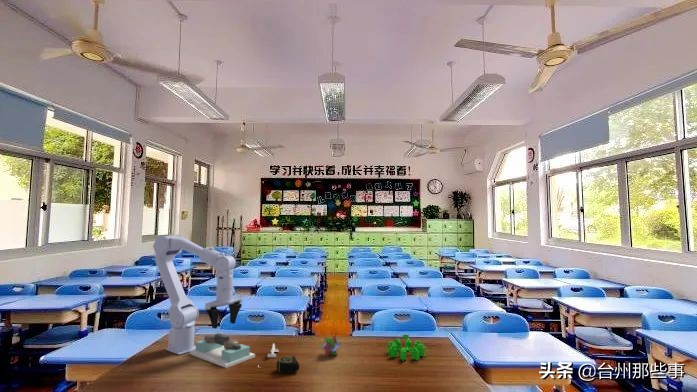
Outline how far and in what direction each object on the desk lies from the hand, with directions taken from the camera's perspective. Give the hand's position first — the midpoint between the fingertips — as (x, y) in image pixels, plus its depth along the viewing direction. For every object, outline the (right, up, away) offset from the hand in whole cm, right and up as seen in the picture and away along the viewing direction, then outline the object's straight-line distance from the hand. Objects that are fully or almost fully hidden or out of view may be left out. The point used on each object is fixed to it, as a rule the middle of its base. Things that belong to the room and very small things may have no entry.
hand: (223, 325), depth 132 cm
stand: (+1, -10, -3) cm, 10 cm away
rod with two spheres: (0, -6, -3) cm, 6 cm away
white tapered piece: (+19, -10, -7) cm, 22 cm away
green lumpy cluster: (+67, -10, -4) cm, 68 cm away
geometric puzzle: (+40, -10, -4) cm, 41 cm away
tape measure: (+27, -9, -17) cm, 33 cm away
